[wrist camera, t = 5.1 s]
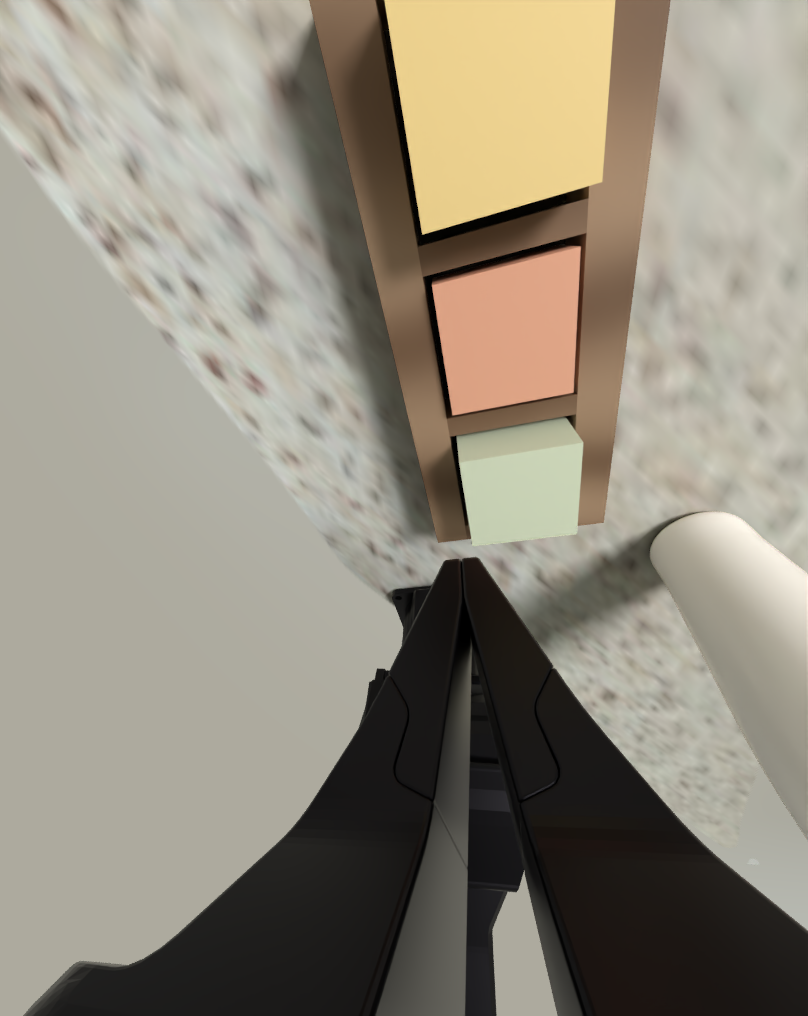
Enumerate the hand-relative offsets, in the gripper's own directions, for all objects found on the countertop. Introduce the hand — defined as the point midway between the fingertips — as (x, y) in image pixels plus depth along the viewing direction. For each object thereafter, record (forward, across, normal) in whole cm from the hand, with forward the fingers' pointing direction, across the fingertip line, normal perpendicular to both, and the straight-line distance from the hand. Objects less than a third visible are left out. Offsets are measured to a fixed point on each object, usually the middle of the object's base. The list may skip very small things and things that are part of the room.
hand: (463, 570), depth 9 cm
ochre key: (+10, -2, -10) cm, 14 cm away
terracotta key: (+11, -3, -3) cm, 12 cm away
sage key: (+10, -3, +3) cm, 11 cm away
